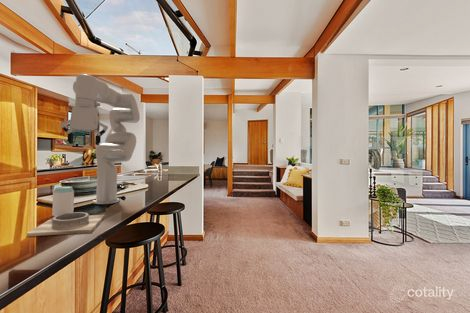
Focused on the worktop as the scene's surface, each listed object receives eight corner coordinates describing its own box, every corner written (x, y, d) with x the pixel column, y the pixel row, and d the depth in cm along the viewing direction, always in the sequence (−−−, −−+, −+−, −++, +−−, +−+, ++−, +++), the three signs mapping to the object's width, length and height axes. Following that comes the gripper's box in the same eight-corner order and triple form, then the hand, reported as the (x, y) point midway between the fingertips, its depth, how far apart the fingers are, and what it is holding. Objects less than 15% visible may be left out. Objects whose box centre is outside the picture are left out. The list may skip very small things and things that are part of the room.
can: (64, 218, 91) (65, 188, 90) (47, 217, 91) (48, 188, 90) (77, 213, 98) (78, 186, 97) (61, 212, 98) (62, 185, 98)
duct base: (53, 219, 88) (53, 210, 88) (104, 217, 94) (104, 209, 93) (26, 236, 71) (26, 225, 71) (91, 232, 76) (91, 222, 76)
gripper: (110, 108, 102) (108, 145, 102) (65, 104, 96) (63, 143, 96) (106, 105, 95) (105, 145, 95) (57, 100, 89) (56, 142, 89)
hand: (84, 144), depth 95 cm, fingers open, 9 cm apart
